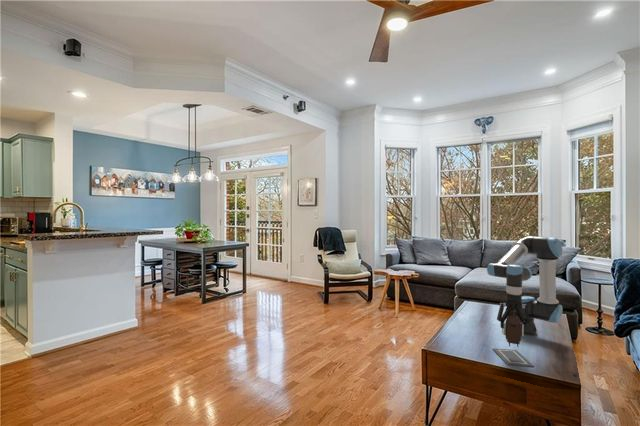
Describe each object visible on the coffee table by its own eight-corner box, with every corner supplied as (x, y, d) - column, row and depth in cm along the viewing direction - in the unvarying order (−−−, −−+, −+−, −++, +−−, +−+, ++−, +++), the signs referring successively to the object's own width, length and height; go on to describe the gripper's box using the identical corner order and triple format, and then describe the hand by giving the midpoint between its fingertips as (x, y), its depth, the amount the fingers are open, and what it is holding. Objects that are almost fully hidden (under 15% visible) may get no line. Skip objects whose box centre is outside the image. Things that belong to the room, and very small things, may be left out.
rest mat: (516, 351, 192) (516, 349, 192) (533, 367, 173) (533, 365, 173) (492, 349, 194) (492, 348, 194) (507, 365, 174) (507, 363, 174)
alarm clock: (504, 338, 191) (504, 303, 191) (519, 341, 188) (519, 305, 188) (505, 347, 178) (505, 310, 178) (521, 350, 175) (521, 312, 175)
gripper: (531, 293, 185) (530, 333, 186) (490, 290, 188) (489, 331, 188) (538, 296, 178) (537, 338, 178) (495, 294, 181) (494, 335, 181)
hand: (512, 334), depth 183 cm, fingers closed on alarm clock, 8 cm apart
